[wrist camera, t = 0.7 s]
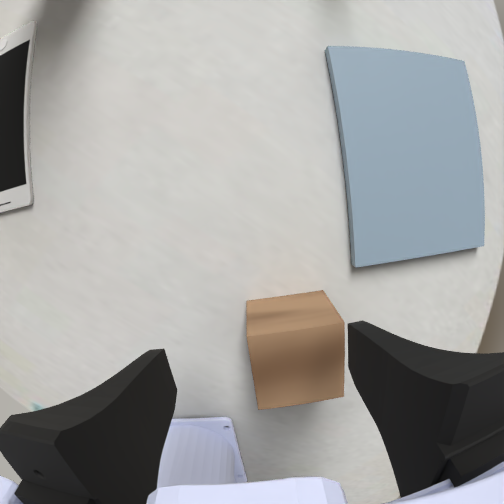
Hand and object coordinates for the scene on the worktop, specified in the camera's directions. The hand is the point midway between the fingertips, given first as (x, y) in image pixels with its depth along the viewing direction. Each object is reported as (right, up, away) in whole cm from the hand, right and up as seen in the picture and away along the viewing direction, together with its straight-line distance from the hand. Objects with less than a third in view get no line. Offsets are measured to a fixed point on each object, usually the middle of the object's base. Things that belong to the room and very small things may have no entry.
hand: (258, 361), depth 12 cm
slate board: (+11, +11, +7) cm, 17 cm away
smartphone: (-20, +15, +6) cm, 26 cm away
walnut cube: (+2, -1, +9) cm, 10 cm away
